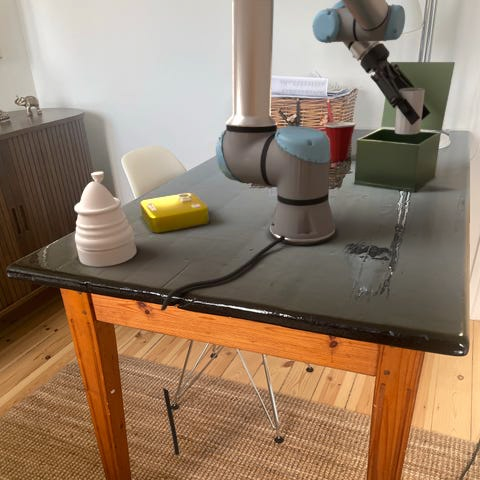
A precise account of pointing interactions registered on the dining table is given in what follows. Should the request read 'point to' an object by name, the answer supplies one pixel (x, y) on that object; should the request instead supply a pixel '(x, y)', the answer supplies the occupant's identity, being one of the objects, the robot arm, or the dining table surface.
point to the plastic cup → (339, 139)
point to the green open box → (396, 159)
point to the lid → (436, 91)
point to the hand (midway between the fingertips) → (421, 118)
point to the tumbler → (416, 101)
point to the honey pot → (102, 227)
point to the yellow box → (174, 212)
